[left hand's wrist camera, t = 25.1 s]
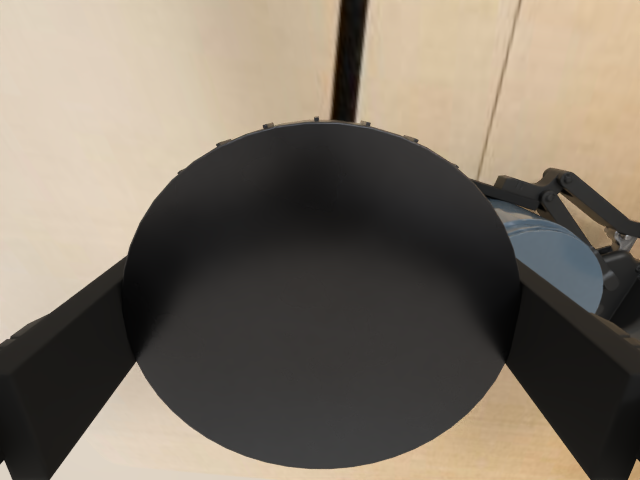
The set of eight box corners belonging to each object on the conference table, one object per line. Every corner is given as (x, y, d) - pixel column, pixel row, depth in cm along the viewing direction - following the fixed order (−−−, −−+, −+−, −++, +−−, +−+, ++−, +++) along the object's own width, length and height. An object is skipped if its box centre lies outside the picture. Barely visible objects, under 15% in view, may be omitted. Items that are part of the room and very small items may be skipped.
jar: (398, 190, 37) (447, 238, 22) (499, 175, 36) (617, 214, 22) (405, 280, 40) (453, 372, 26) (498, 267, 40) (600, 353, 25)
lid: (73, 252, 11) (30, 277, 10) (384, 27, 9) (398, 9, 7) (281, 467, 15) (276, 513, 13) (546, 338, 12) (581, 374, 11)
